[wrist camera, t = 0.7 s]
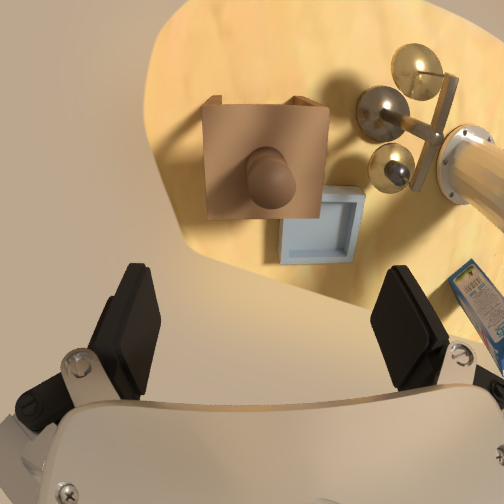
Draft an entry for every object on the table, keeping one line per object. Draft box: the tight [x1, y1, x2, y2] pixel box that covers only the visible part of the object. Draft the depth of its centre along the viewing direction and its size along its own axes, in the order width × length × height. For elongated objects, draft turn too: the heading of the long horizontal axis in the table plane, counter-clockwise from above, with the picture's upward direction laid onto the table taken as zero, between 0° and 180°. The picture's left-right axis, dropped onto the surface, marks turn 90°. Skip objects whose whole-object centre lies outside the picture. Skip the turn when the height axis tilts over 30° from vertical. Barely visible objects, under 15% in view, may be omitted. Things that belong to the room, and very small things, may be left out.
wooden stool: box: [202, 95, 330, 220], centre depth 27 cm, size 10×10×16 cm
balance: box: [356, 43, 459, 194], centre depth 26 cm, size 7×18×14 cm, turn 0°
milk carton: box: [448, 259, 504, 377], centre depth 40 cm, size 10×6×20 cm, turn 44°
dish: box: [278, 185, 366, 265], centre depth 38 cm, size 10×10×3 cm
